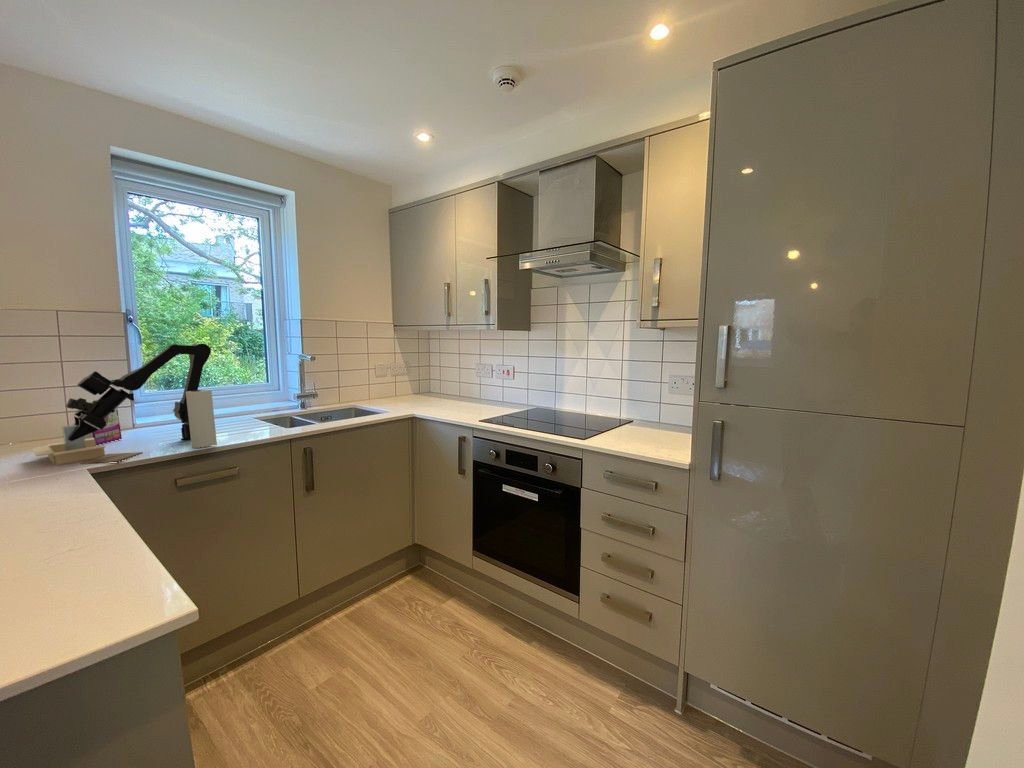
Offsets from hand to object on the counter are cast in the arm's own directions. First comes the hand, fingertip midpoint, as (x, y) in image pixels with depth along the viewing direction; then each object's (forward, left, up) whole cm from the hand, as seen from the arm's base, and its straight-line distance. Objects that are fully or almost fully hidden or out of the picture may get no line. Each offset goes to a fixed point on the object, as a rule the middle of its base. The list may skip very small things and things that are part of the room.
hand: (68, 439), depth 144 cm
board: (-16, +4, -7) cm, 18 cm away
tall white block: (-37, -9, -7) cm, 39 cm away
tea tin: (-1, -1, -7) cm, 7 cm away
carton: (-2, -2, -7) cm, 7 cm away
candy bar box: (+8, -23, -7) cm, 26 cm away
